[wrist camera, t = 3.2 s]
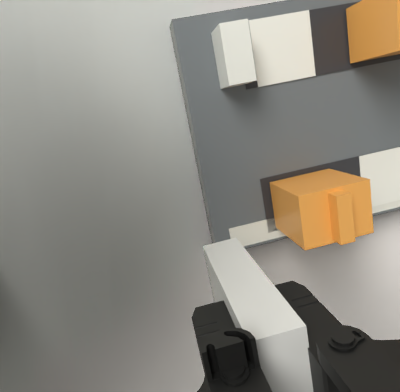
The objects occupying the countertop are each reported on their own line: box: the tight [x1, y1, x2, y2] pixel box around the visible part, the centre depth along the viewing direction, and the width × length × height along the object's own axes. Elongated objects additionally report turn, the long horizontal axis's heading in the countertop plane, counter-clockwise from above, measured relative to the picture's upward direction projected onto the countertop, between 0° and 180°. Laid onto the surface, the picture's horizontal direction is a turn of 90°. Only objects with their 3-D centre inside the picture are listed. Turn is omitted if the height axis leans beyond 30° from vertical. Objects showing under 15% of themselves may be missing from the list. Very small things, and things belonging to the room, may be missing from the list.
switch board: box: [170, 0, 400, 249], centre depth 21 cm, size 16×14×4 cm
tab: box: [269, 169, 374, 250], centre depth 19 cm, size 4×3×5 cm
